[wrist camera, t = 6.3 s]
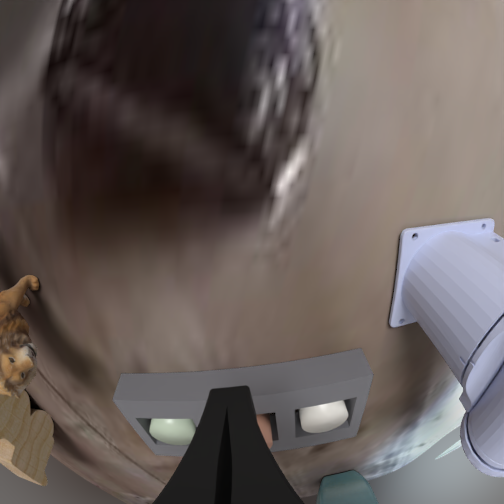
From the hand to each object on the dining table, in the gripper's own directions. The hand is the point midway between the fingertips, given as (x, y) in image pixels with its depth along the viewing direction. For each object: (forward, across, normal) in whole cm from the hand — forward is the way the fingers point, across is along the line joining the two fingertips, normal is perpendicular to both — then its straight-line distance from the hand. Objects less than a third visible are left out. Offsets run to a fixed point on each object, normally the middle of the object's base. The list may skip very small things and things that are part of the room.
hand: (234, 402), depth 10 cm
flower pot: (+10, -9, +40) cm, 42 cm away
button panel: (+9, +1, +13) cm, 16 cm away
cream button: (+9, -5, +13) cm, 17 cm away
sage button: (+9, +8, +13) cm, 18 cm away
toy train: (+10, +30, +12) cm, 34 cm away
